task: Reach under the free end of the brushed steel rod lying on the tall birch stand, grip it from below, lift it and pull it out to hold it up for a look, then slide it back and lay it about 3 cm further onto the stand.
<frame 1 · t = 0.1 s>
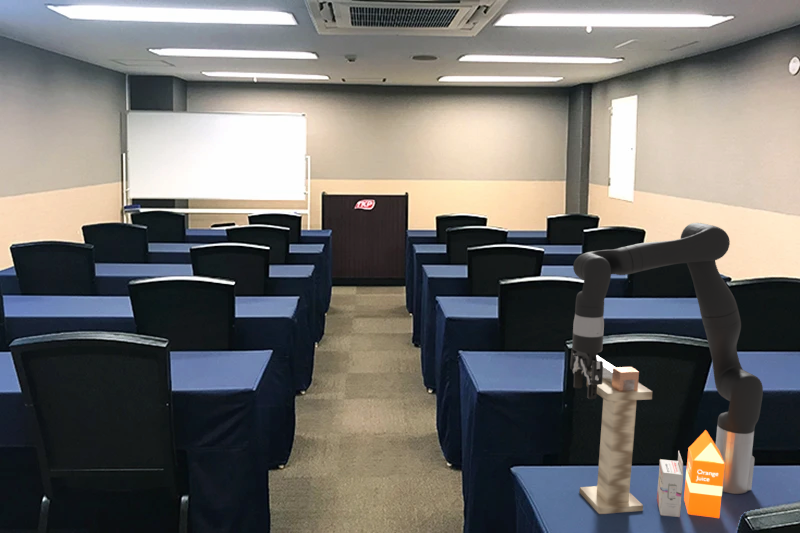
hand: (584, 393, 196), 29 cm above the table, tool pointing down, fingers open, 8 cm apart
birch stand: (610, 501, 200), on the table
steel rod: (608, 377, 200), point 32 cm above the table, touching birch stand
ink cartridge box: (667, 509, 196), on the table
orange juice: (701, 508, 197), on the table
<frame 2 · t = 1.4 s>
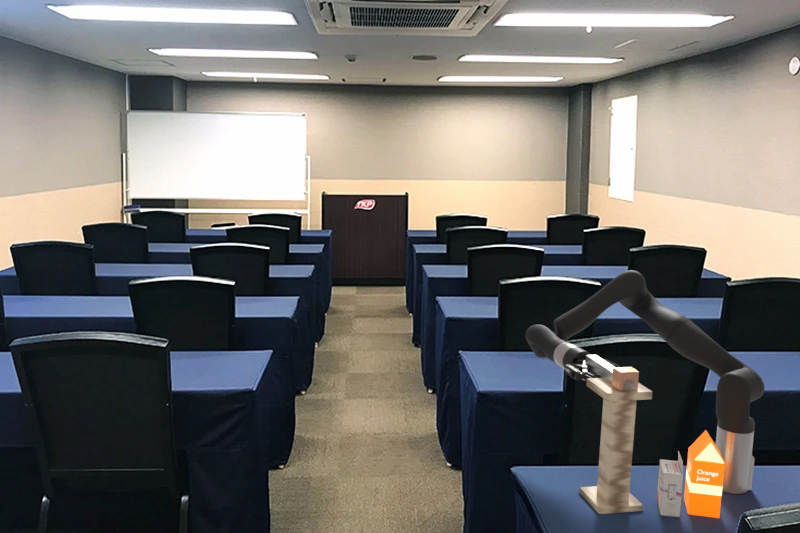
hand: (609, 378, 203), 31 cm above the table, tool horizontal, fingers open, 8 cm apart
nothing on the table moved.
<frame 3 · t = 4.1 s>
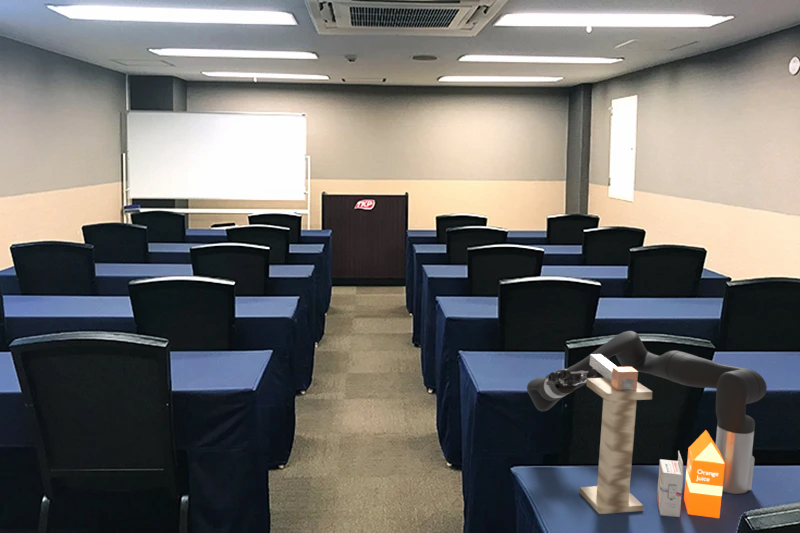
hand: (581, 372, 217), 28 cm above the table, tool pointing upward, fingers open, 8 cm apart
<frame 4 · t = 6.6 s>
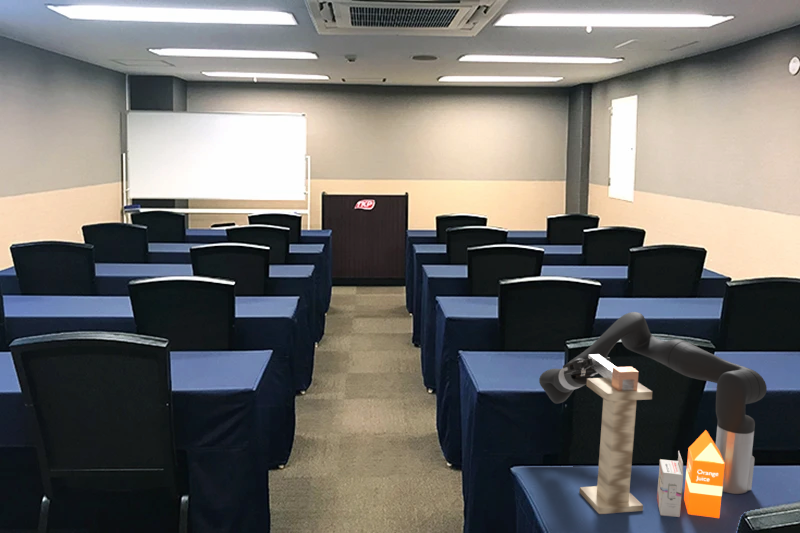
hand: (600, 361, 205), 35 cm above the table, tool pointing upward, fingers open, 4 cm apart
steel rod: (609, 377, 200), point 32 cm above the table, touching birch stand, gripper
everything else where it was.
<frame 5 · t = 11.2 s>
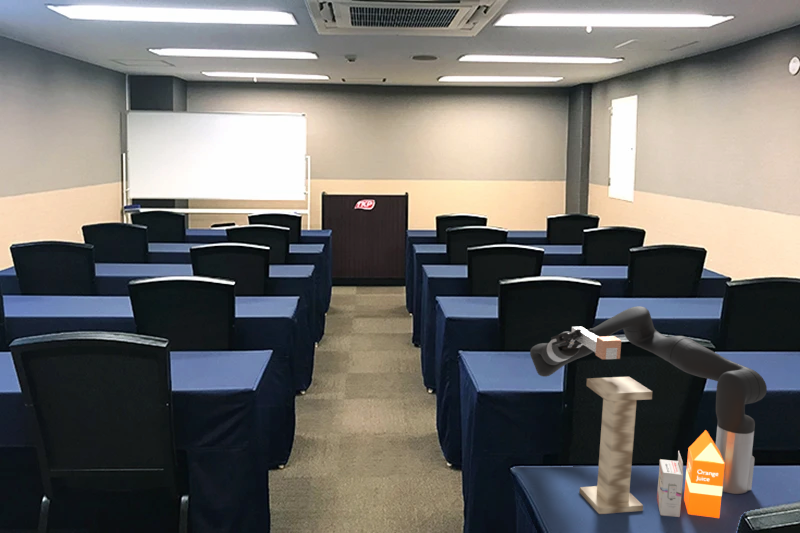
hand: (585, 332, 213), 40 cm above the table, tool pointing upward, fingers closed on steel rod, 3 cm apart
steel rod: (592, 347, 209), point 37 cm above the table, touching gripper
everything else where it was.
when the fingers open (36 cm above the table, at t = 15.2 s): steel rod drops 1 cm, resting on birch stand.
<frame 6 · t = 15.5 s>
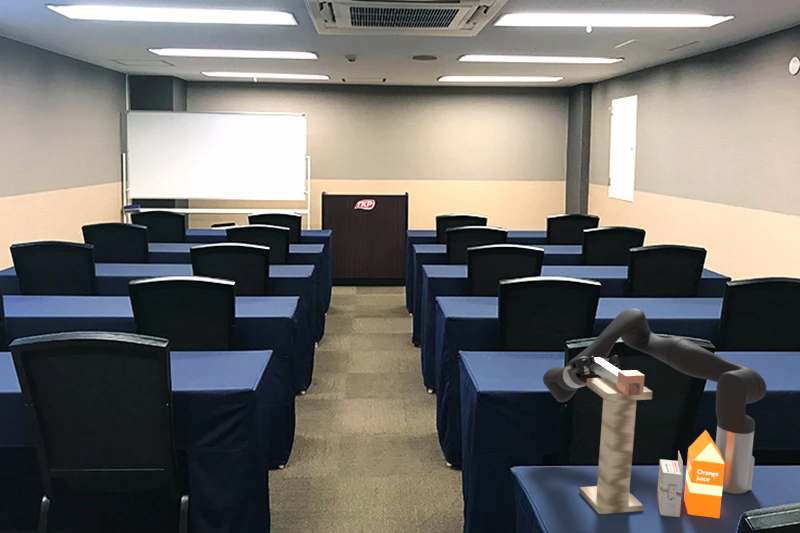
hand: (605, 359, 202), 36 cm above the table, tool pointing upward, fingers open, 6 cm apart
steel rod: (613, 380, 197), point 32 cm above the table, touching birch stand
everything else where it was.
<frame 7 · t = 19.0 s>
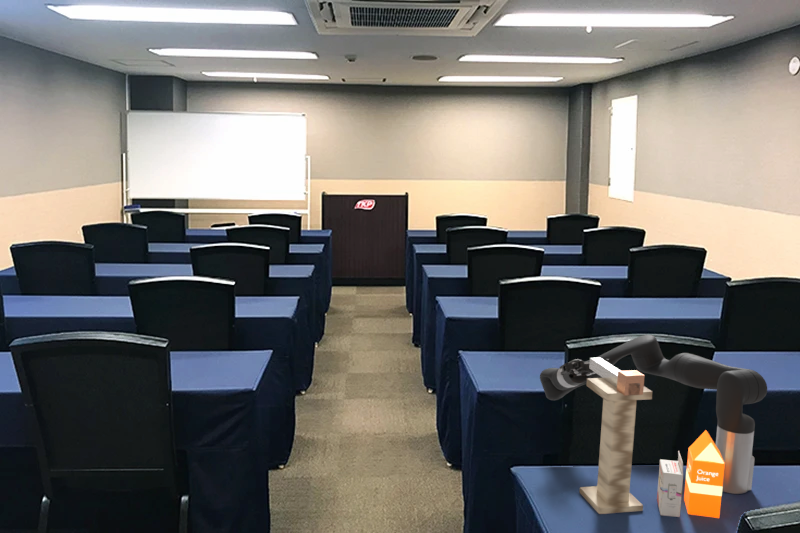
hand: (595, 362, 221), 29 cm above the table, tool pointing upward, fingers open, 8 cm apart
nothing on the table moved.
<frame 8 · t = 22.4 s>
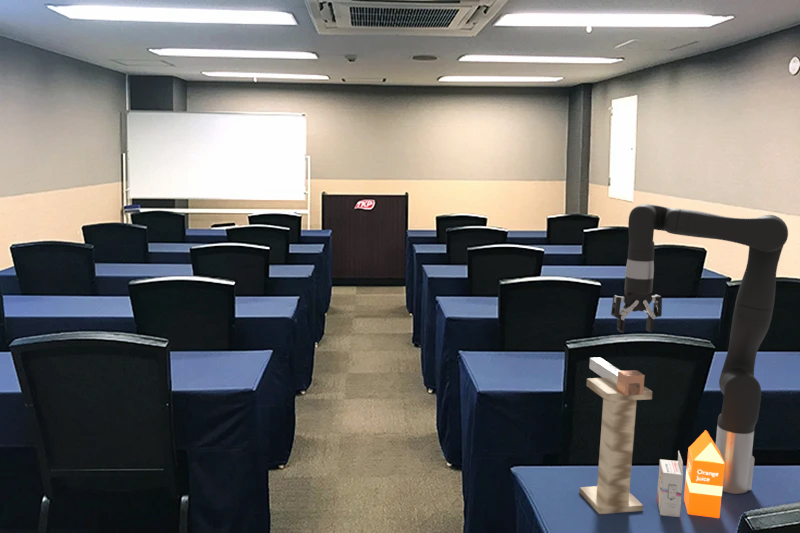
hand: (635, 331, 216), 40 cm above the table, tool pointing down, fingers open, 8 cm apart
nothing on the table moved.
at the end: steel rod 0.8 cm from the target spot, point 32.0 cm above the table; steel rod tilted 0°; the gripper is holding nothing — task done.
